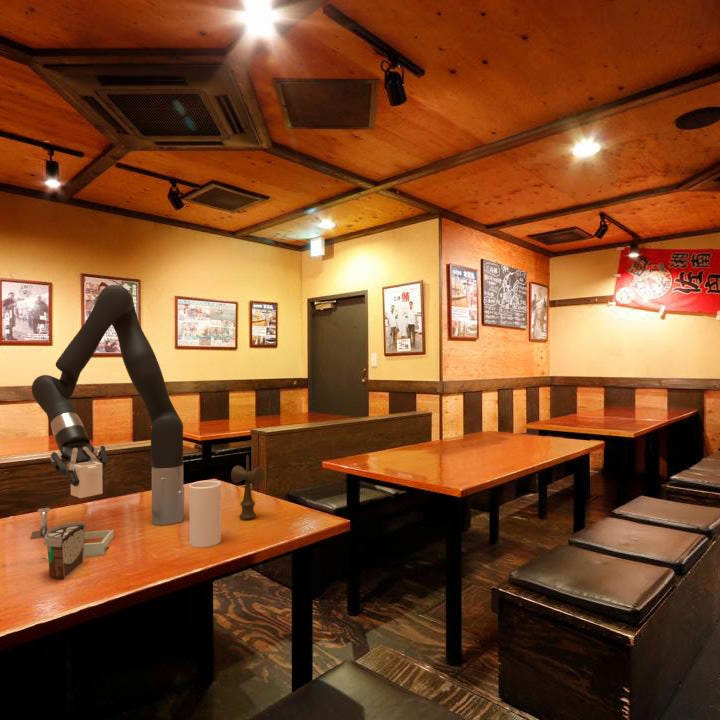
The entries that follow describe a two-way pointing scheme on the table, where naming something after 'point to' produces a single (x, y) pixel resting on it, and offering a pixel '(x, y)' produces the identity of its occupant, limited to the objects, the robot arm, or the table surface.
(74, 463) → the robot arm
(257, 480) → the kendama
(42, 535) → the stake stand
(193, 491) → the cup
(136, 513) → the table surface
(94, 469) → the cream open box
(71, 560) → the food container
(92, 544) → the tray
